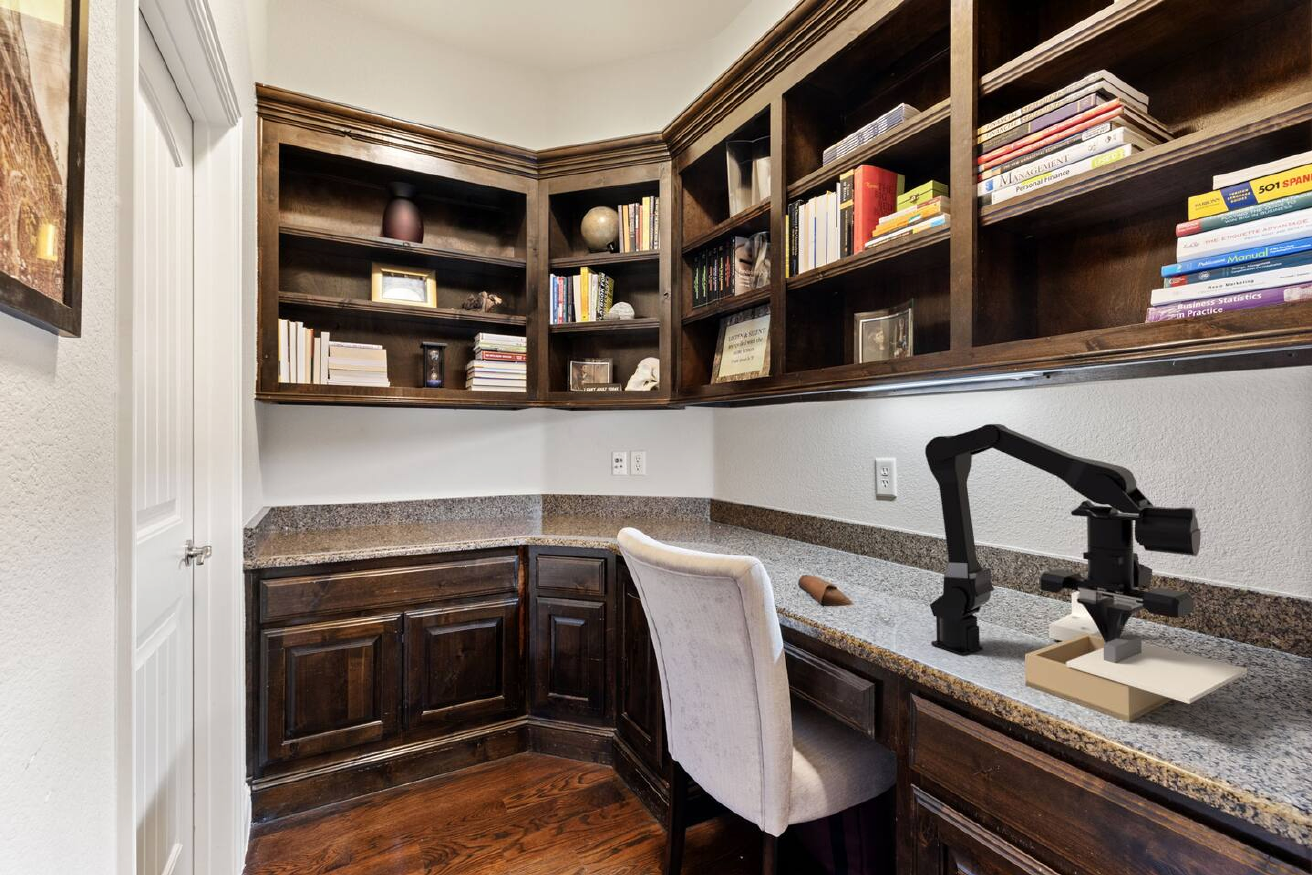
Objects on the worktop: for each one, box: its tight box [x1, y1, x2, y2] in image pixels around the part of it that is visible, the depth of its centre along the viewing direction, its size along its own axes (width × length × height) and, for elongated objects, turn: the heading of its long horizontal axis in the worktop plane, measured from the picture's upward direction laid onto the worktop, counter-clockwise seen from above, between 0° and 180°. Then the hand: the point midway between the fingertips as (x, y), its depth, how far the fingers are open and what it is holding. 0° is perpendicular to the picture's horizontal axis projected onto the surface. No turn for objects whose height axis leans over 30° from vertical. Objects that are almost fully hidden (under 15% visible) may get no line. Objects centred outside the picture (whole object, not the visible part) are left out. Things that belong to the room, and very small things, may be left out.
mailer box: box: [1024, 634, 1174, 723], centre depth 94 cm, size 14×18×5 cm
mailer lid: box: [1066, 633, 1248, 705], centre depth 88 cm, size 15×19×3 cm
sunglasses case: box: [797, 574, 854, 608], centre depth 148 cm, size 18×7×7 cm
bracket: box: [1048, 590, 1103, 642], centre depth 115 cm, size 13×7×8 cm, turn 125°
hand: (1111, 646), depth 93 cm, fingers closed
